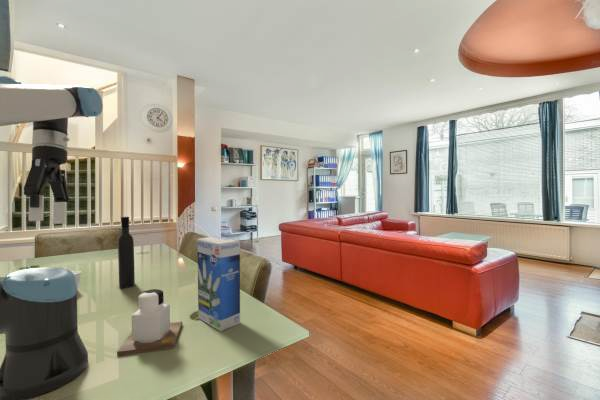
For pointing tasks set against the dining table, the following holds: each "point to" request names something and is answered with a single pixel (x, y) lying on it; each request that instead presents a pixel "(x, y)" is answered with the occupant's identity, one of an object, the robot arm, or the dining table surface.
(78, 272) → the cup
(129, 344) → the plate
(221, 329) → the string lights box
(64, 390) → the dining table surface
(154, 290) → the medicine bottle
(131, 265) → the wine bottle
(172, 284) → the dining table surface
